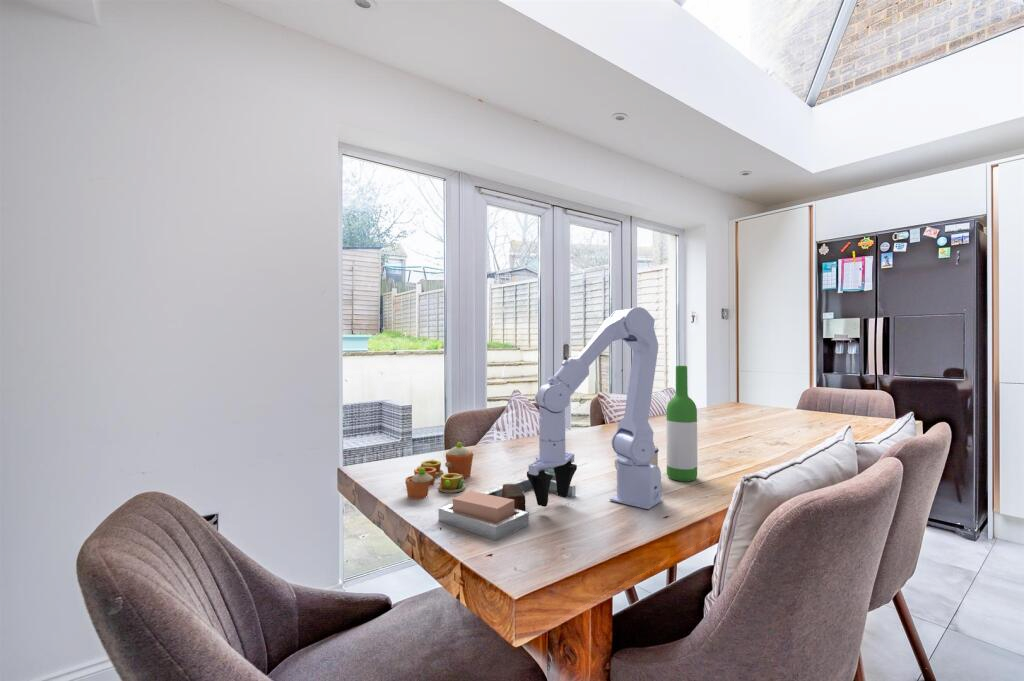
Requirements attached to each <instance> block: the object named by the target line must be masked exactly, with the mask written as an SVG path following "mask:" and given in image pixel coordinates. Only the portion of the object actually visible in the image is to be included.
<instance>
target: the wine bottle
mask: <svg viewBox="0 0 1024 681" xmlns="http://www.w3.org/2000/svg"><path fill="white" fill-rule="evenodd" d="M688 392H689V391H688V366H687V365H676V366H675V395H674V397H671V399H670V400H669V401H668V403H667V405H666V475H667V477H668V479H669V478H670V479H671V480H674V481H678V482H692V481H695V480H697V477H698V408H697V405H696V403H695V401H694V400H693V399H692V398H690V397H689V393H688Z"/></svg>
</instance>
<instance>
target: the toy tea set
mask: <svg viewBox="0 0 1024 681" xmlns="http://www.w3.org/2000/svg"><path fill="white" fill-rule="evenodd" d="M473 459H474V453H473V451H471V450H470V449H469V448H468V447H466V446H463V442H460V441H458V442H457V443H456V446H453V447H451V448H450V449H449V450H448V451H447V452H446V453H445V460H446V462H445V464H444V465H445V467H446V468H447V472H448V473H445V474H444V470H443V469H441V465H442V462H441V461H439V460H436V459H430V460H424V461H422V462H421V463H420V465H418V466H417V467H416V468H414V470H413V474H414V475H411V476H407V477H406V478H405V480H404V482H405V485H406V486H405V487H406V493H407V498H408V499H411V498H412V499H411V500H420V498H421V499H424V497H425V498H426V496H427V495H429V489H430V487H431V486H430V485H432V486H433V484H434V485H435V481H436V478H438V477H440V480H439V481H438V482H437V484H439V485H438V487H437V490H438V491H439V492H442V493H447V494H454V493H459V492H460V493H461V492H462V491H464V490H465V489H466V485H465V483H464V482H465V479H464V478H467V479H469V478H471V477H470V476H471V472H472V467H473V466H472V465H473ZM437 476H438V477H437ZM468 477H469V478H468ZM427 497H428V496H427Z"/></svg>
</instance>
